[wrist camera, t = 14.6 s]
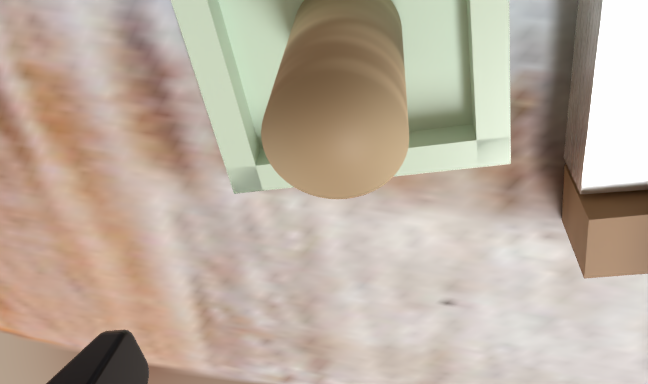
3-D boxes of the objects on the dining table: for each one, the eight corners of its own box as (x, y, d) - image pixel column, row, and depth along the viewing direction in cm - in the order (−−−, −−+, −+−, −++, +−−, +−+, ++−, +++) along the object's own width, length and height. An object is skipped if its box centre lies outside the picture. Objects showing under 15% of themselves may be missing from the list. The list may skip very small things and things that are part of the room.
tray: (497, -171, 15) (507, -164, 14) (502, 138, 20) (511, 163, 19) (157, -105, 17) (140, -93, 16) (242, 168, 22) (233, 193, 21)
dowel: (395, -30, 17) (400, 60, 12) (407, 76, 19) (416, 191, 14) (282, -11, 17) (244, 82, 13) (305, 90, 19) (279, 205, 14)
